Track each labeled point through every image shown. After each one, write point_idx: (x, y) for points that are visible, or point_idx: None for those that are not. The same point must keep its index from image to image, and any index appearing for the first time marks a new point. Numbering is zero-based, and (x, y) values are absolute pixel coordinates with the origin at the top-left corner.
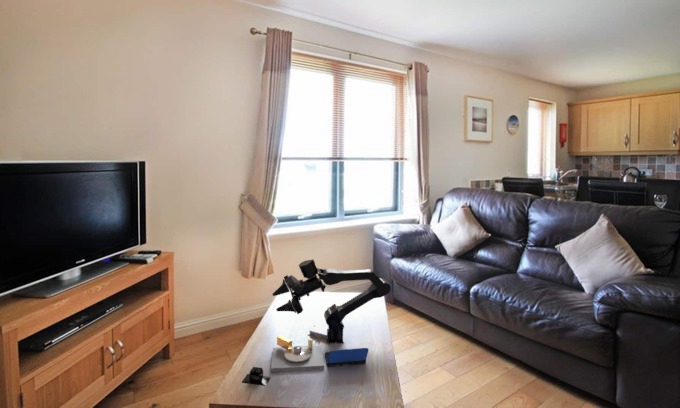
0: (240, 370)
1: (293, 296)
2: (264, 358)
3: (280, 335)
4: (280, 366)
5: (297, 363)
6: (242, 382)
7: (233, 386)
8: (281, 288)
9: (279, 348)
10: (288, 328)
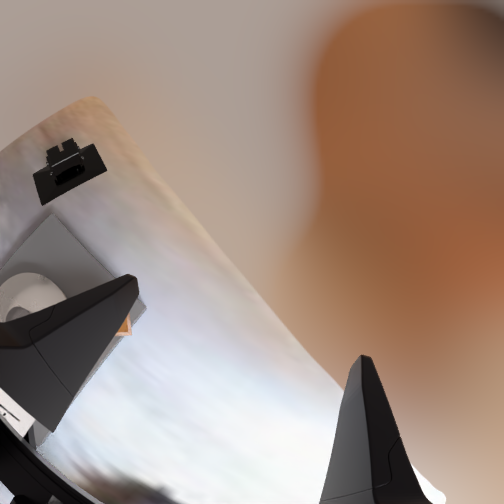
0: (136, 168)
1: (54, 494)
2: (129, 254)
3: (125, 328)
4: (35, 239)
5: None
6: (90, 145)
7: (99, 127)
8: (366, 477)
9: None
10: (265, 458)
